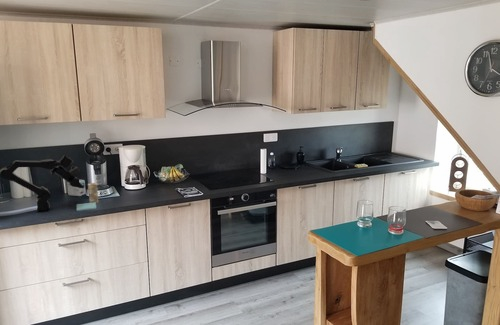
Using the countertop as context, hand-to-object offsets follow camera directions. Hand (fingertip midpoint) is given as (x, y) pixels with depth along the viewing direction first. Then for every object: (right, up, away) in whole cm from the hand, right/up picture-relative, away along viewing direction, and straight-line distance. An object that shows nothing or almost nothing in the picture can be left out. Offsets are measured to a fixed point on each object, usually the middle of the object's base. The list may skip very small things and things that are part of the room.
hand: (82, 186), depth 263 cm
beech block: (+6, -11, +6) cm, 14 cm away
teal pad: (+5, -14, -5) cm, 15 cm away
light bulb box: (-14, -8, +24) cm, 29 cm away
